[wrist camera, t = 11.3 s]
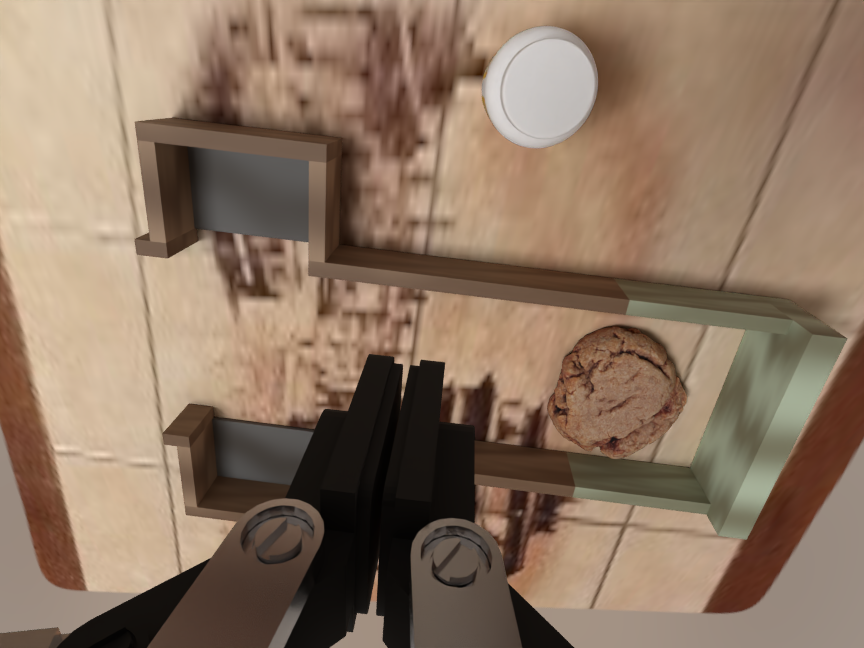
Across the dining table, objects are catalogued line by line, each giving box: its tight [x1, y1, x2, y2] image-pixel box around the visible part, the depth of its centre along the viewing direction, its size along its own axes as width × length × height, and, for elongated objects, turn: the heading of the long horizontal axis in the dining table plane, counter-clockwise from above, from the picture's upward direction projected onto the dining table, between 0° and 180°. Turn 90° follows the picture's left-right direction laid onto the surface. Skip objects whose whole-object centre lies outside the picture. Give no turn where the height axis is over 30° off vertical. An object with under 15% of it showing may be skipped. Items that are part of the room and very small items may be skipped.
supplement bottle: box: [482, 26, 598, 148], centre depth 26 cm, size 5×5×10 cm
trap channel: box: [135, 118, 847, 539], centre depth 36 cm, size 30×43×6 cm
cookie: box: [547, 326, 687, 459], centre depth 38 cm, size 10×11×3 cm
